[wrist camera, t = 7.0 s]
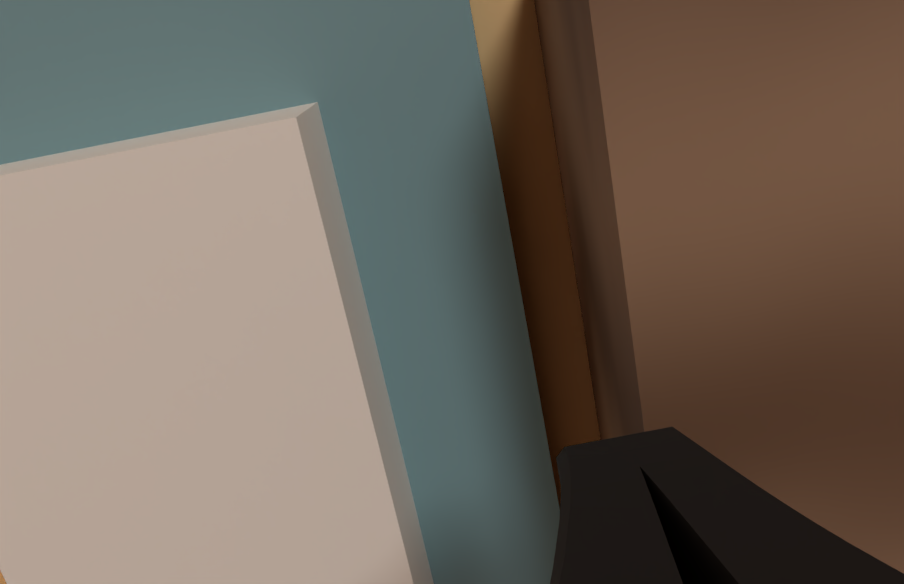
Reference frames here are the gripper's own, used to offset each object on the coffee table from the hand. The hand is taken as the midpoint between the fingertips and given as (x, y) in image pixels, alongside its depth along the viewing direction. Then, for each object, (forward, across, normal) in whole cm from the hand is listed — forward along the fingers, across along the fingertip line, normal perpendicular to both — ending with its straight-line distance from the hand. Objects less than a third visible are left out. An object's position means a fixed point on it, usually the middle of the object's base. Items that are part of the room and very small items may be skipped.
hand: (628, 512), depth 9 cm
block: (+2, +6, 0) cm, 6 cm away
